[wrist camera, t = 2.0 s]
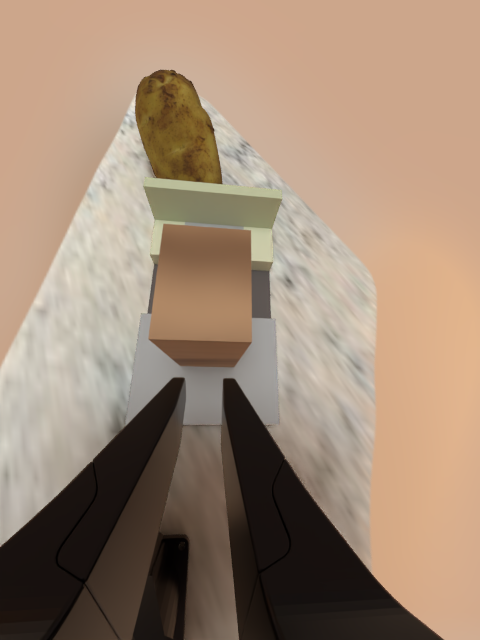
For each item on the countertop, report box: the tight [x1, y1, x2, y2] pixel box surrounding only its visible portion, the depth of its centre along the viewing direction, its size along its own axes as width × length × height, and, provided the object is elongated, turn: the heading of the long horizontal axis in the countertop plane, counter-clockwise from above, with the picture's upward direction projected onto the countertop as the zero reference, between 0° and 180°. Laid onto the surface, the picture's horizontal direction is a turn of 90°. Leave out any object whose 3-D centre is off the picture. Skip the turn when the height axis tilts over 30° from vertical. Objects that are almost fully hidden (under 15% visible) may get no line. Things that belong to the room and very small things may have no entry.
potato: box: [135, 70, 222, 184], centre depth 24 cm, size 8×13×8 cm, turn 7°
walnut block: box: [148, 224, 252, 367], centre depth 16 cm, size 6×4×10 cm
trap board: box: [125, 177, 282, 425], centre depth 20 cm, size 20×12×6 cm, turn 179°
